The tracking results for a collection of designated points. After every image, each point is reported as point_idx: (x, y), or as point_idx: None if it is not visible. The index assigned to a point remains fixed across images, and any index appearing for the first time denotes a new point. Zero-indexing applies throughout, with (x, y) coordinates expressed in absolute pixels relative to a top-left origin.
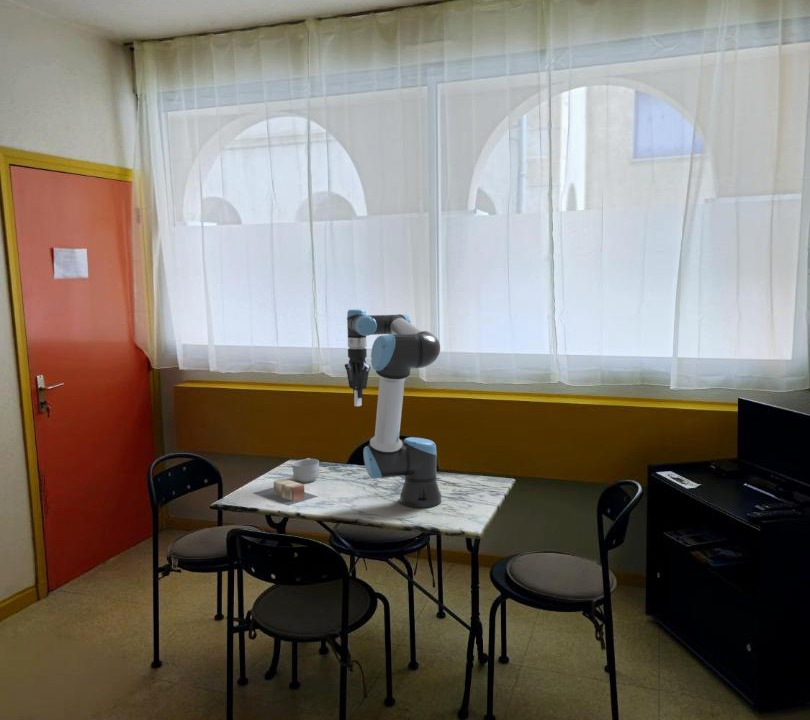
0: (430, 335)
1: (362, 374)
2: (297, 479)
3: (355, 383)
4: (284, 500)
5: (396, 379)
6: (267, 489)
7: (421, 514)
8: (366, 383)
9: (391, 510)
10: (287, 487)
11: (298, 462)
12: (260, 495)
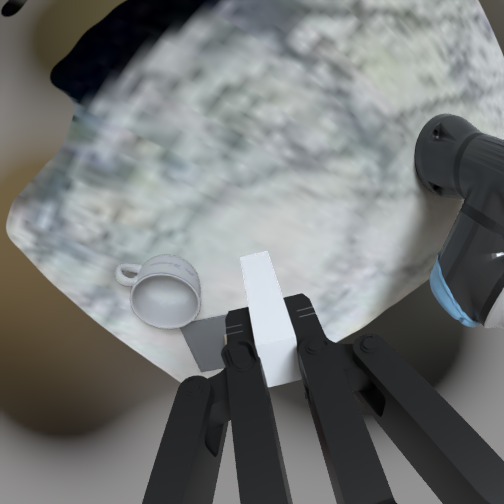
0: None
1: (442, 489)
2: (179, 302)
3: (276, 431)
4: None
5: None
6: (194, 351)
7: None
8: (412, 374)
9: (438, 225)
10: None
11: (135, 304)
12: (222, 367)
